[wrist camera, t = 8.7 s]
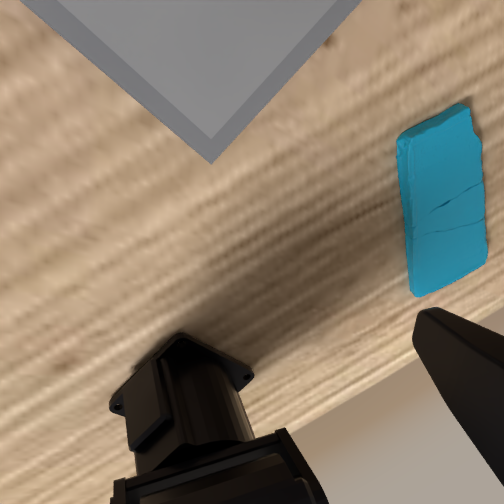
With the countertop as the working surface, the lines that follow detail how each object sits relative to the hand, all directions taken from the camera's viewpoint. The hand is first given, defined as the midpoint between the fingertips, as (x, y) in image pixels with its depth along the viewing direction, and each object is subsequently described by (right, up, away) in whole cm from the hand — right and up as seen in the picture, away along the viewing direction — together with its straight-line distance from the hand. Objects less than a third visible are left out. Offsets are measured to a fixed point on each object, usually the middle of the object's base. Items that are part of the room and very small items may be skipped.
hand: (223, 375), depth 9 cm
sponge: (+12, +6, +18) cm, 22 cm away
